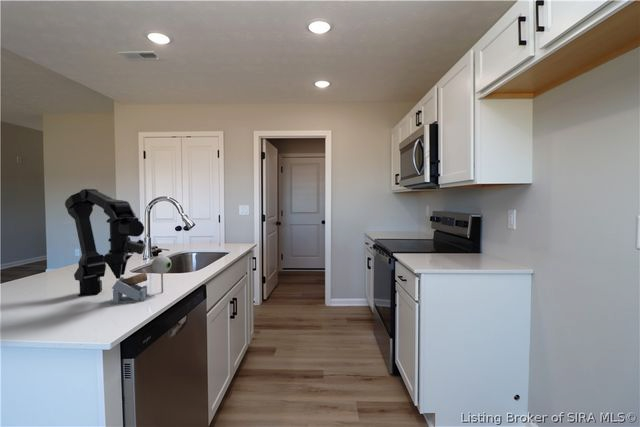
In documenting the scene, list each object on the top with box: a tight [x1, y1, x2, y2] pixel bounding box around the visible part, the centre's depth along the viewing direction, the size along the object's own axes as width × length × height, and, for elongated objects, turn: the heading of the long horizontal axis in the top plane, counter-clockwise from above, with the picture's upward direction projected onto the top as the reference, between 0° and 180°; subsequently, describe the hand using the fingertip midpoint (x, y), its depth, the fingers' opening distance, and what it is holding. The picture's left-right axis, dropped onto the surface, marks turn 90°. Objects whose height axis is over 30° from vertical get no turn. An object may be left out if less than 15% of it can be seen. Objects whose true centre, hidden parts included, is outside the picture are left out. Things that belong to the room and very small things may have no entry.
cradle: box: [109, 276, 149, 305], centre depth 121 cm, size 11×7×8 cm, turn 109°
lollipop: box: [151, 255, 172, 294], centre depth 130 cm, size 7×7×15 cm
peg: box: [121, 272, 148, 286], centre depth 121 cm, size 3×3×8 cm
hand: (120, 276), depth 120 cm, fingers open, 6 cm apart
